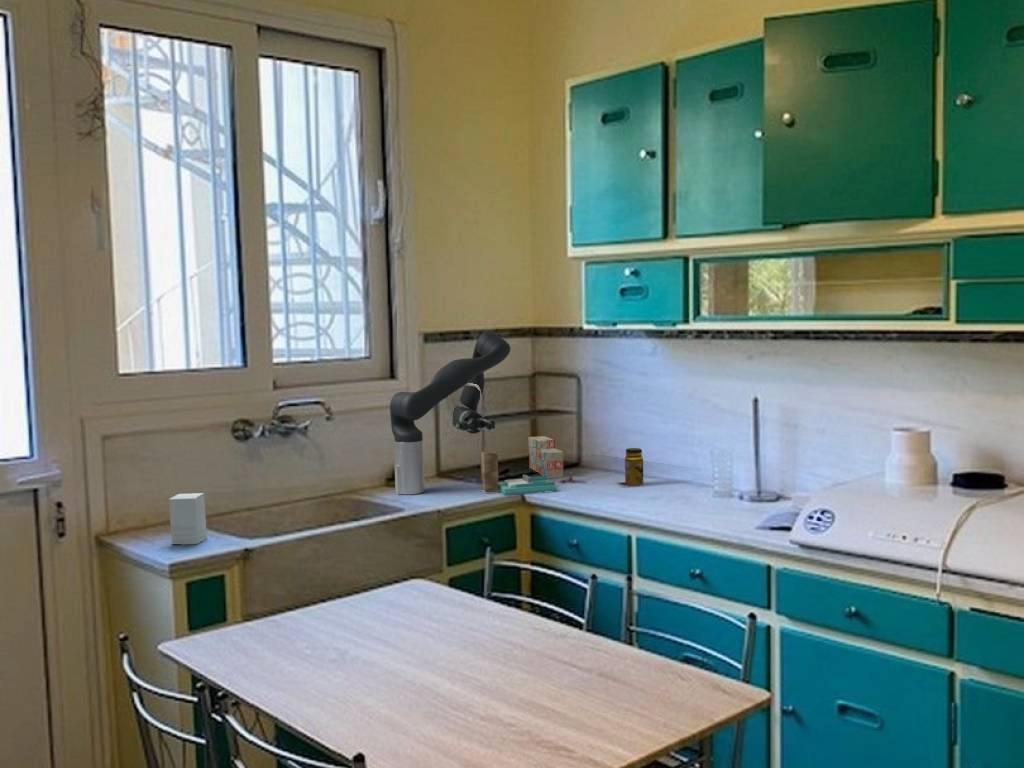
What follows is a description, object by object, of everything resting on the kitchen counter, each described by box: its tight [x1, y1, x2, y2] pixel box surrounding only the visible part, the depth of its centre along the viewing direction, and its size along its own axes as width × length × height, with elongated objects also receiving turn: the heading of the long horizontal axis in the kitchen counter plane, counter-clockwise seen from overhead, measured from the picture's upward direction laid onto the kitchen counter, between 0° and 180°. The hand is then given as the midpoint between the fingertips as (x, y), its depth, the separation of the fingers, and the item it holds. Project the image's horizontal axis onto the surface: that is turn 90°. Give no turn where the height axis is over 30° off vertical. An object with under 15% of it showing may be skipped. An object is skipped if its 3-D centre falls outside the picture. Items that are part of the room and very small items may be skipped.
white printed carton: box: [527, 435, 564, 479], centre depth 362 cm, size 21×6×12 cm, turn 16°
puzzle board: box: [498, 476, 557, 496], centre depth 331 cm, size 17×12×3 cm
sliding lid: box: [504, 474, 533, 487], centre depth 331 cm, size 8×8×2 cm
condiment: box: [616, 447, 647, 488], centre depth 336 cm, size 7×8×12 cm
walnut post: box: [480, 450, 500, 493], centre depth 330 cm, size 4×4×13 cm
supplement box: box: [168, 492, 208, 545], centre depth 272 cm, size 7×7×13 cm
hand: (481, 427), depth 339 cm, fingers open, 5 cm apart
